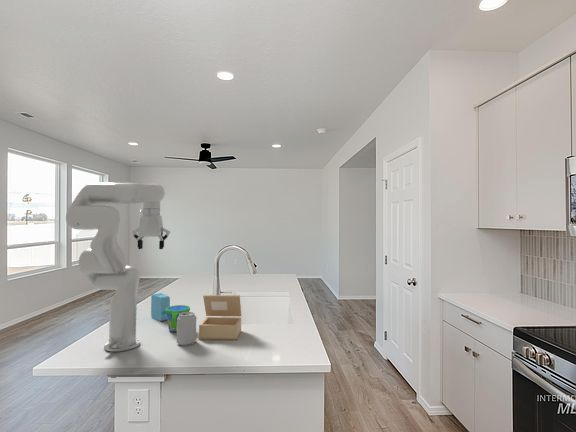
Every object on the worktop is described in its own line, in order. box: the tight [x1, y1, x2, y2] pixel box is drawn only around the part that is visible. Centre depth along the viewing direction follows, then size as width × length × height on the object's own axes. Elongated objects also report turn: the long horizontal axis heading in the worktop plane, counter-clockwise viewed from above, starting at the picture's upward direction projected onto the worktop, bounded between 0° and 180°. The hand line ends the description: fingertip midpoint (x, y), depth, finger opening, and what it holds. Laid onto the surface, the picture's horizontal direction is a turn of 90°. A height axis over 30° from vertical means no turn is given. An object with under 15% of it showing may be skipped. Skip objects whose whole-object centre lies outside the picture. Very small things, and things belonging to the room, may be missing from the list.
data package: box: [150, 292, 171, 322], centre depth 167 cm, size 12×4×12 cm, turn 46°
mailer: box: [198, 316, 242, 341], centre depth 143 cm, size 12×16×6 cm
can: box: [176, 311, 197, 347], centre depth 133 cm, size 8×8×12 cm
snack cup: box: [166, 304, 191, 333], centre depth 149 cm, size 16×10×10 cm
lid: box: [202, 294, 242, 317], centre depth 147 cm, size 12×16×1 cm
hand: (150, 248), depth 154 cm, fingers open, 9 cm apart
